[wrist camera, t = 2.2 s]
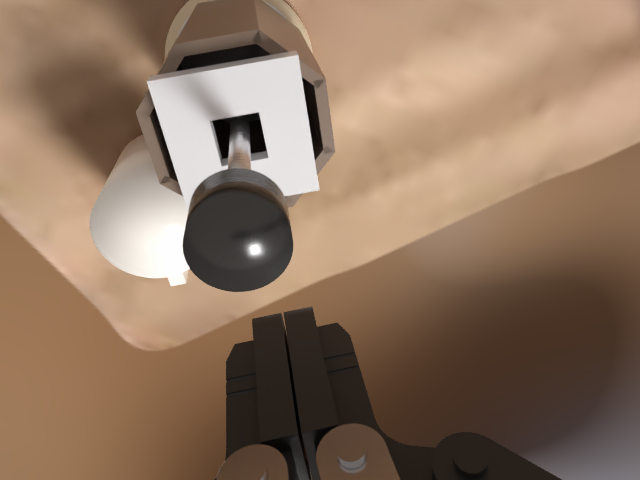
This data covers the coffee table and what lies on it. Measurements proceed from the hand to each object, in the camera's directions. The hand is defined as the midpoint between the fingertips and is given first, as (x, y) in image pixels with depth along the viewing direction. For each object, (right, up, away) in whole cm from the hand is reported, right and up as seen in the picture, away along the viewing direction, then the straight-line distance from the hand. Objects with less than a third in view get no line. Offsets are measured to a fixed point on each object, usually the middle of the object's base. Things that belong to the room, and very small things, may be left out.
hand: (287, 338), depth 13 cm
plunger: (-4, +11, +19) cm, 22 cm away
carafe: (-5, +16, +27) cm, 31 cm away
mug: (-12, +8, +31) cm, 34 cm away
